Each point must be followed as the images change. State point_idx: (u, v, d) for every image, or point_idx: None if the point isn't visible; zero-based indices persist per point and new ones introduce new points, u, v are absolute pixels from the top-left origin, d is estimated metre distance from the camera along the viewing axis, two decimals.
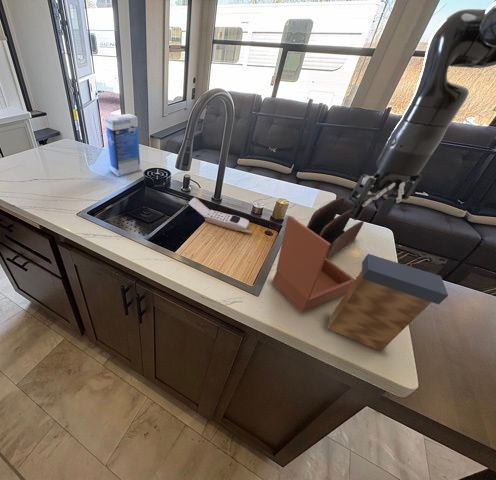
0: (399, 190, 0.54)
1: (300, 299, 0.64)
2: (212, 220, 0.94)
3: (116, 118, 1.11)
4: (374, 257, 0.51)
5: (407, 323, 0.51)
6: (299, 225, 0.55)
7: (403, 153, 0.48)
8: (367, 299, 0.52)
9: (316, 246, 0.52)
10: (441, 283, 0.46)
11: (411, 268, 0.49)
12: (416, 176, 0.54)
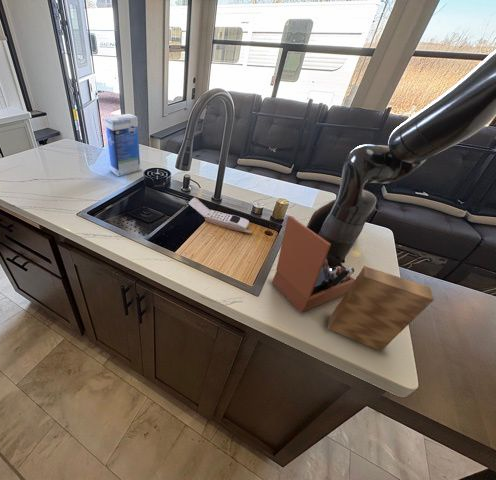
0: None
1: (300, 299, 0.64)
2: (212, 220, 0.94)
3: (116, 118, 1.11)
4: None
5: (407, 323, 0.51)
6: (299, 225, 0.55)
7: None
8: (367, 299, 0.52)
9: (316, 246, 0.52)
10: None
11: None
12: None
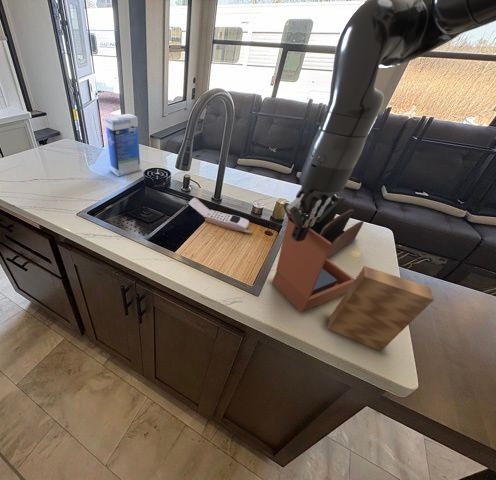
0: None
1: (300, 299, 0.64)
2: (212, 220, 0.94)
3: (116, 118, 1.11)
4: None
5: (407, 323, 0.51)
6: None
7: None
8: (367, 299, 0.52)
9: (317, 246, 0.52)
10: (327, 273, 0.71)
11: None
12: (289, 203, 0.47)
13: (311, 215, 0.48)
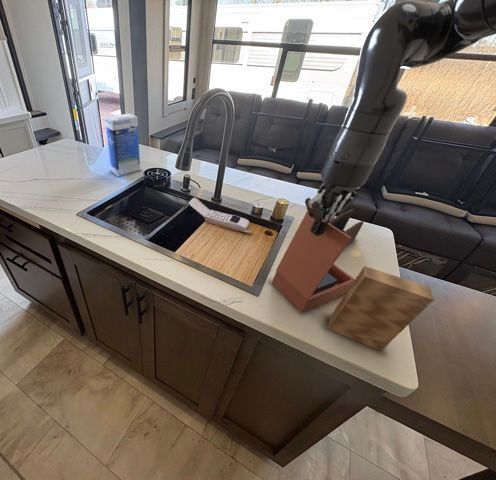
0: None
1: (300, 299, 0.64)
2: (212, 220, 0.94)
3: (116, 118, 1.11)
4: None
5: (407, 323, 0.51)
6: None
7: None
8: (367, 299, 0.52)
9: (334, 240, 0.54)
10: (327, 273, 0.71)
11: None
12: (310, 198, 0.49)
13: (331, 210, 0.50)
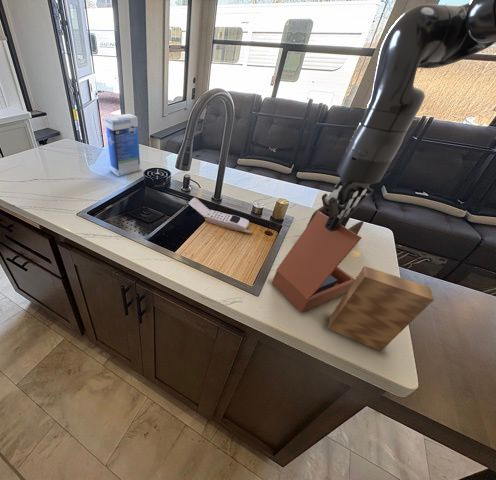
0: None
1: (300, 299, 0.64)
2: (212, 220, 0.94)
3: (116, 118, 1.11)
4: None
5: (407, 323, 0.51)
6: None
7: None
8: (367, 299, 0.52)
9: (343, 239, 0.56)
10: None
11: None
12: (327, 194, 0.50)
13: (347, 206, 0.51)
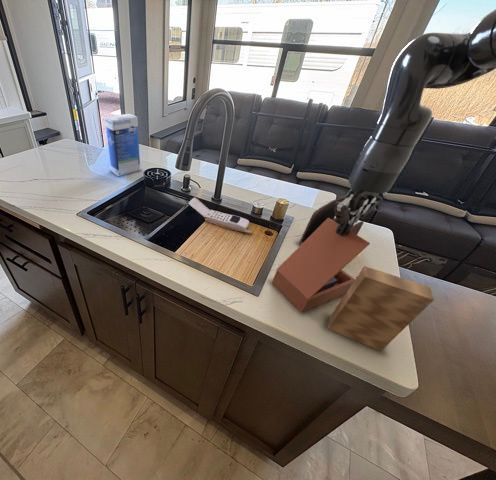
0: None
1: (300, 299, 0.64)
2: (212, 220, 0.94)
3: (116, 118, 1.11)
4: None
5: (407, 323, 0.51)
6: None
7: None
8: (367, 299, 0.52)
9: (352, 244, 0.59)
10: None
11: None
12: (339, 202, 0.54)
13: (358, 213, 0.55)
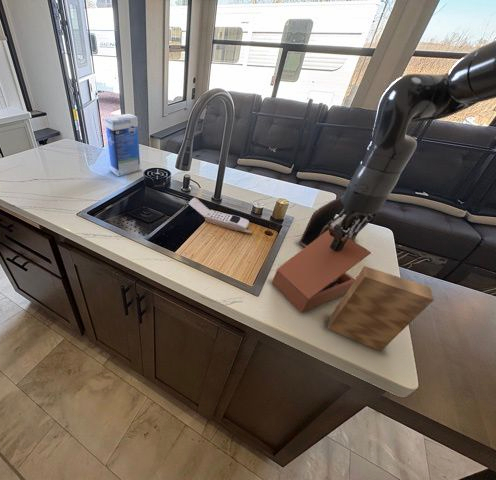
0: None
1: (300, 299, 0.64)
2: (212, 220, 0.94)
3: (116, 118, 1.11)
4: None
5: (407, 323, 0.51)
6: None
7: None
8: (367, 299, 0.52)
9: (354, 252, 0.62)
10: None
11: None
12: (332, 221, 0.57)
13: (350, 231, 0.58)
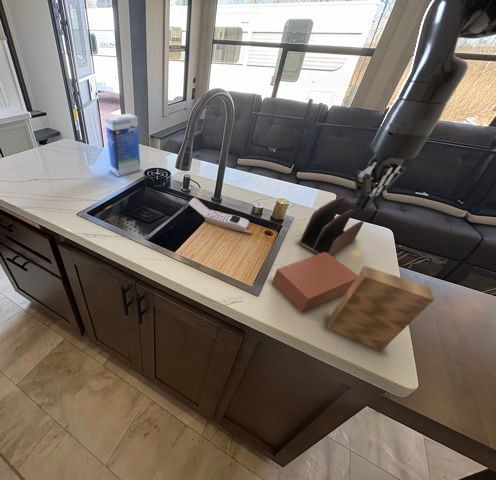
0: None
1: (300, 299, 0.64)
2: (212, 220, 0.94)
3: (116, 118, 1.11)
4: None
5: (407, 323, 0.51)
6: (335, 259, 0.73)
7: None
8: (367, 299, 0.52)
9: (346, 273, 0.68)
10: None
11: None
12: None
13: (380, 183, 0.51)
